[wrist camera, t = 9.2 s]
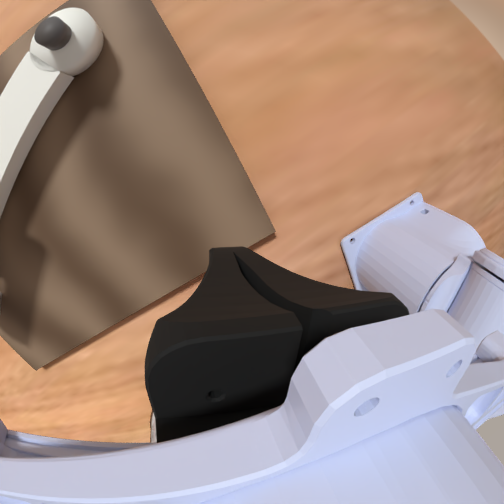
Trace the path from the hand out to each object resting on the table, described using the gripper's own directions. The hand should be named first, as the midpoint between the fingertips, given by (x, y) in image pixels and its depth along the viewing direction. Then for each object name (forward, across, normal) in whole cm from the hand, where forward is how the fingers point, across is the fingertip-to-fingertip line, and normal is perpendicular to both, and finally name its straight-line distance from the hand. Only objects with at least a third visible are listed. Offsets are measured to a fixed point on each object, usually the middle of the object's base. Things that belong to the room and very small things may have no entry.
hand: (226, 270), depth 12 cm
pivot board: (+9, +11, -1) cm, 15 cm away
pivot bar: (+8, +13, -6) cm, 16 cm away
